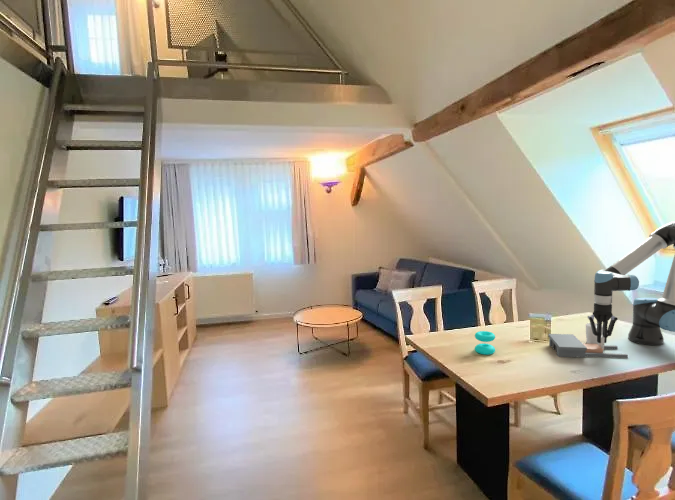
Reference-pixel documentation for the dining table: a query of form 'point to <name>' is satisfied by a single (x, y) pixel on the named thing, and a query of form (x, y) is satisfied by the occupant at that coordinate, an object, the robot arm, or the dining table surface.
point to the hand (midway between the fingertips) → (601, 349)
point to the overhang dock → (576, 347)
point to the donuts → (483, 347)
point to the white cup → (591, 334)
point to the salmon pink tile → (593, 348)
